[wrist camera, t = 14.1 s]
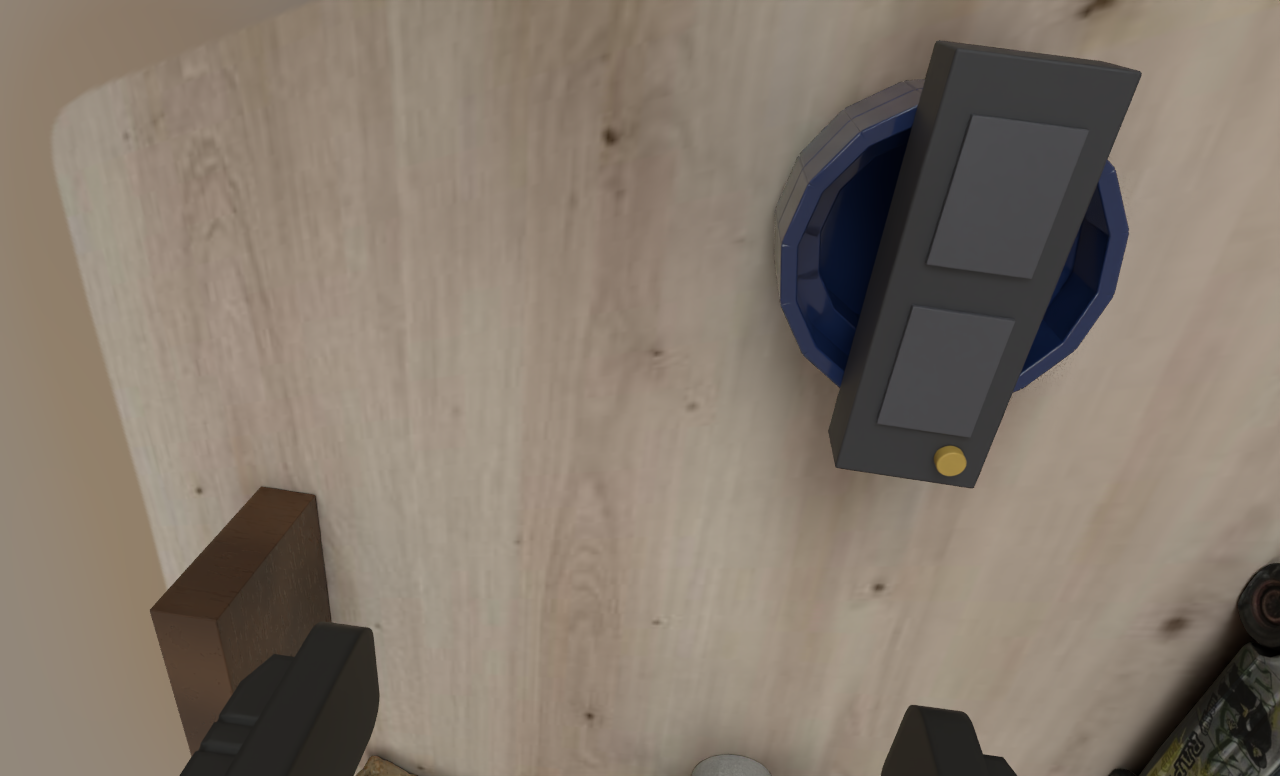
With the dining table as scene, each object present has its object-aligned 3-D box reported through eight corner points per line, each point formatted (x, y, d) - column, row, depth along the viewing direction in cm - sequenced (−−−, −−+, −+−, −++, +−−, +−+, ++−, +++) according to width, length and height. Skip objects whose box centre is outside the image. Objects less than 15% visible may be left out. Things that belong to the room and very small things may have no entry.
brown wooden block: (260, 486, 41) (148, 610, 33) (315, 494, 41) (216, 621, 33) (294, 687, 49) (210, 825, 41) (340, 694, 49) (265, 835, 41)
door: (935, 39, 23) (961, 49, 20) (1105, 61, 23) (1153, 74, 20) (827, 431, 30) (836, 476, 27) (956, 450, 29) (978, 498, 27)
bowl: (730, 158, 30) (729, 191, 26) (1027, 17, 27) (1085, 27, 22) (830, 388, 34) (844, 449, 30) (1096, 292, 31) (1155, 345, 27)
